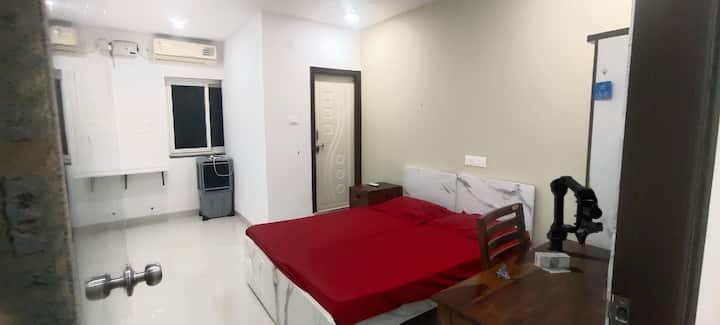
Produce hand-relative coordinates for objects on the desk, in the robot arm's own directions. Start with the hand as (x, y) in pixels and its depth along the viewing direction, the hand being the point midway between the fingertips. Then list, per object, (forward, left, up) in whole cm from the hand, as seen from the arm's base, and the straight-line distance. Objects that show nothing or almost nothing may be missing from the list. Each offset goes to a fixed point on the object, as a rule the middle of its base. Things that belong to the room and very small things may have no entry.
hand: (581, 245), depth 173 cm
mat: (-1, -15, -11) cm, 18 cm away
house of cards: (+5, -48, -12) cm, 49 cm away
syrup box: (-1, -6, -8) cm, 10 cm away
